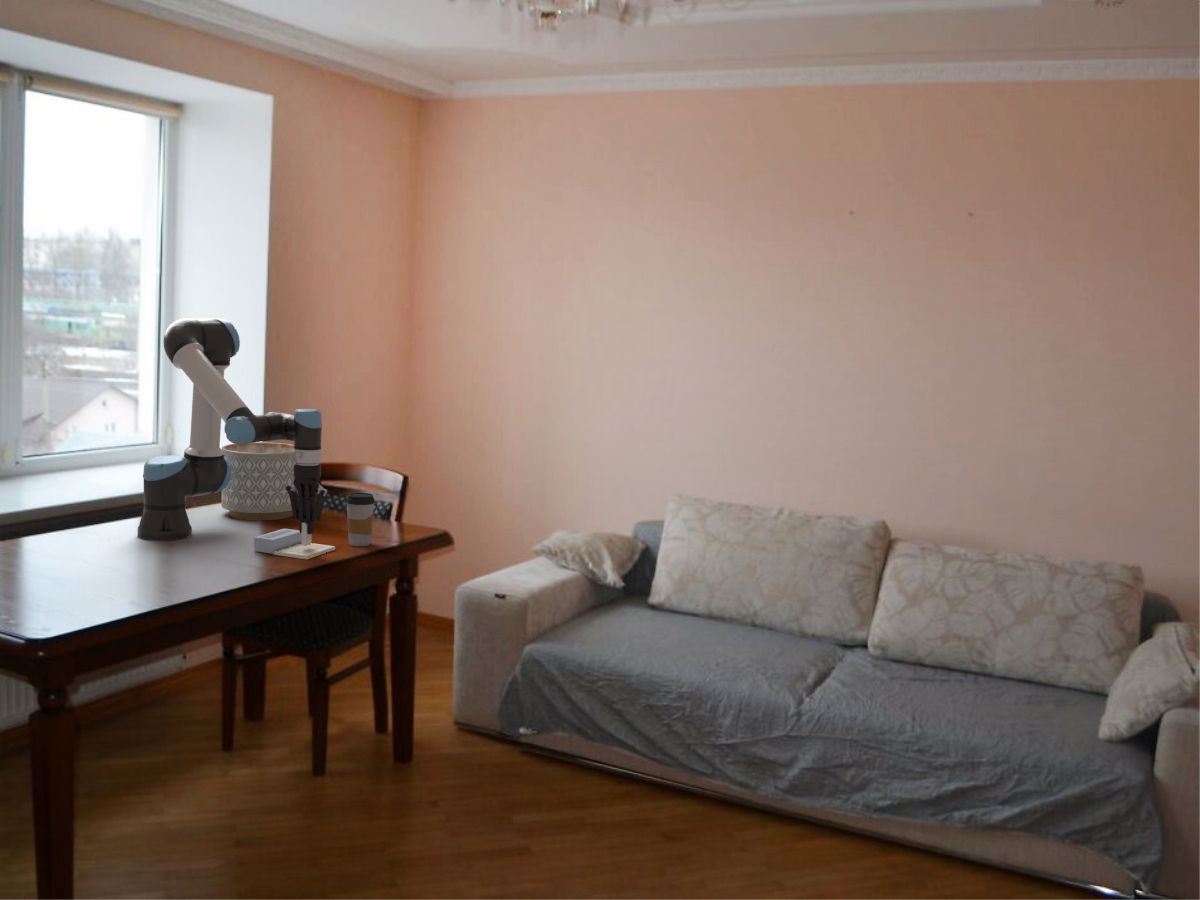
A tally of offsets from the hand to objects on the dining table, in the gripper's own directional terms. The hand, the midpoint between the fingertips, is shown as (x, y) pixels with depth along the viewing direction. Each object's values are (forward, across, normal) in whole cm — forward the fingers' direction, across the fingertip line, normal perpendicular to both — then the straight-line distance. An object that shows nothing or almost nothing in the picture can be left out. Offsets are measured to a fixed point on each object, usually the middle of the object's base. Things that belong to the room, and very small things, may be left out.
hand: (306, 544), depth 327 cm
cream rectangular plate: (+2, 0, 0) cm, 2 cm away
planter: (+3, -43, +37) cm, 57 cm away
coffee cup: (+3, +7, +17) cm, 19 cm away
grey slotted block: (+2, -10, 0) cm, 10 cm away
